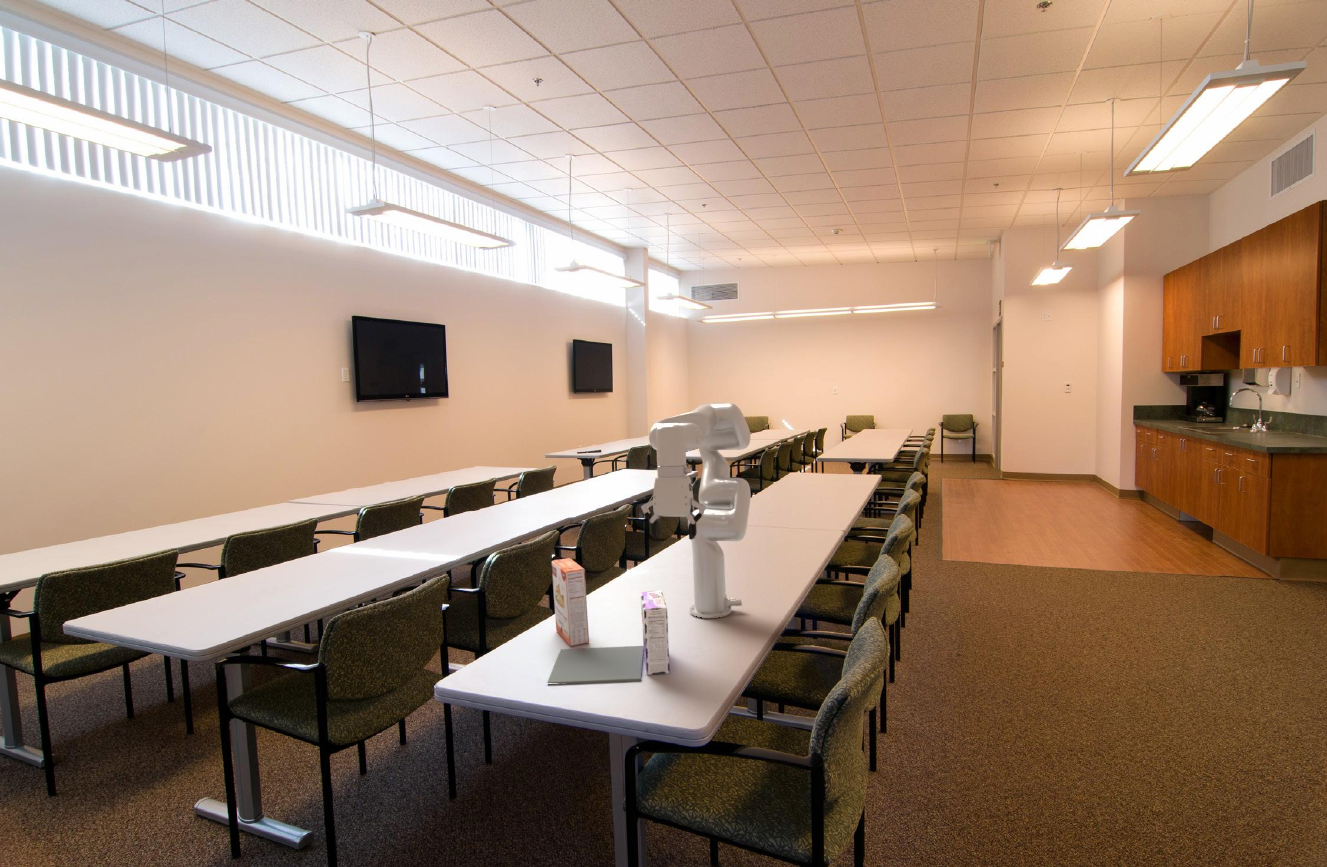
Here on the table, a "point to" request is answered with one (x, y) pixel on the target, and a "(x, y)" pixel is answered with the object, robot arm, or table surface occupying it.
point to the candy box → (655, 632)
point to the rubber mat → (598, 665)
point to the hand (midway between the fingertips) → (674, 538)
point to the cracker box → (570, 601)
